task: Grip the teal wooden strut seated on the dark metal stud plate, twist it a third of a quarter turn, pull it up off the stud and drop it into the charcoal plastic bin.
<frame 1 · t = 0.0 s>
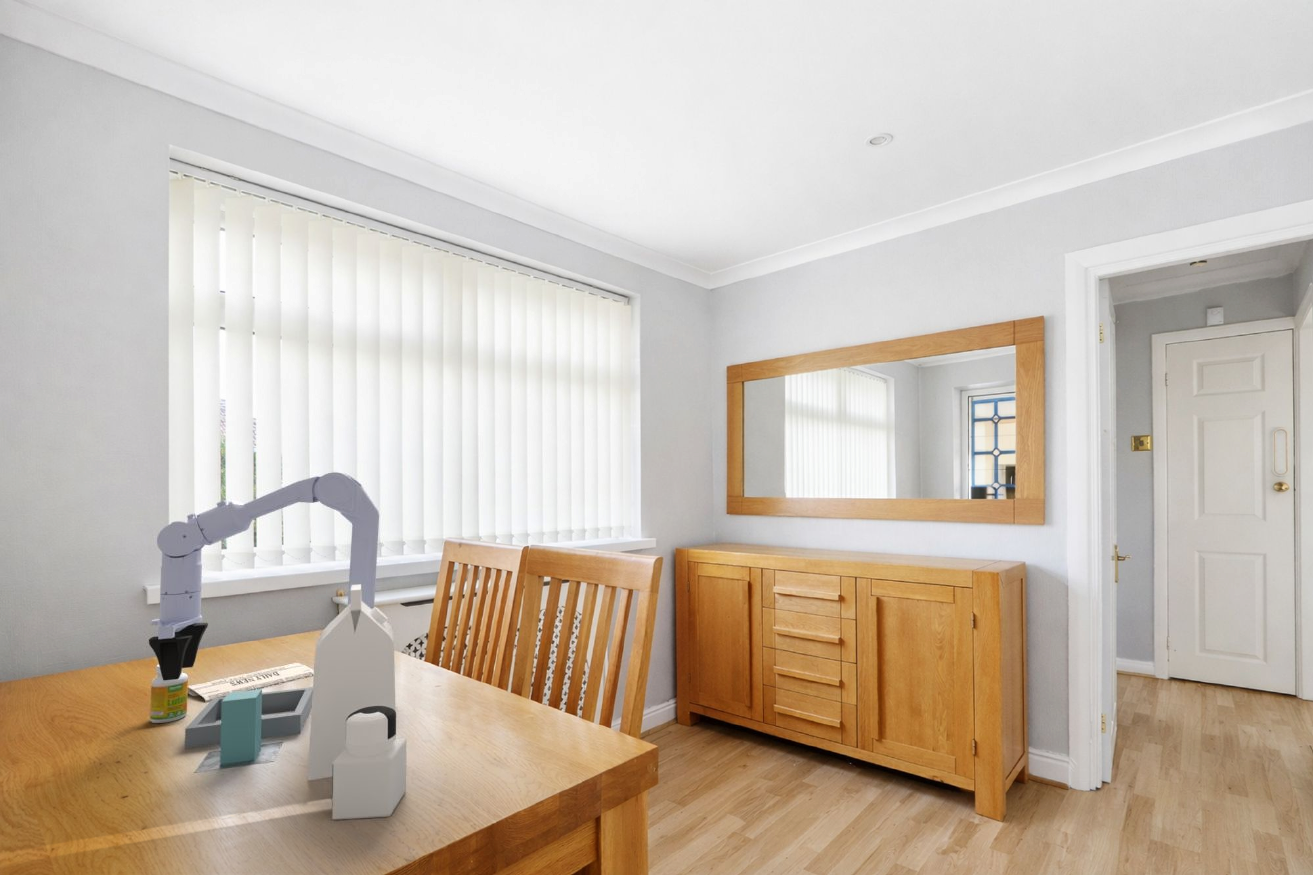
hand: (178, 673, 113), 10 cm above the table, tool pointing down, fingers open, 7 cm apart
strut: (241, 756, 100), point 1 cm above the table, touching stud plate
supplement bottle: (168, 719, 120), on the table
medicine bottle: (370, 807, 86), on the table
bin: (254, 729, 114), on the table
newspaper: (249, 687, 141), on the table
stud plate: (240, 763, 100), on the table
milk: (354, 765, 99), on the table
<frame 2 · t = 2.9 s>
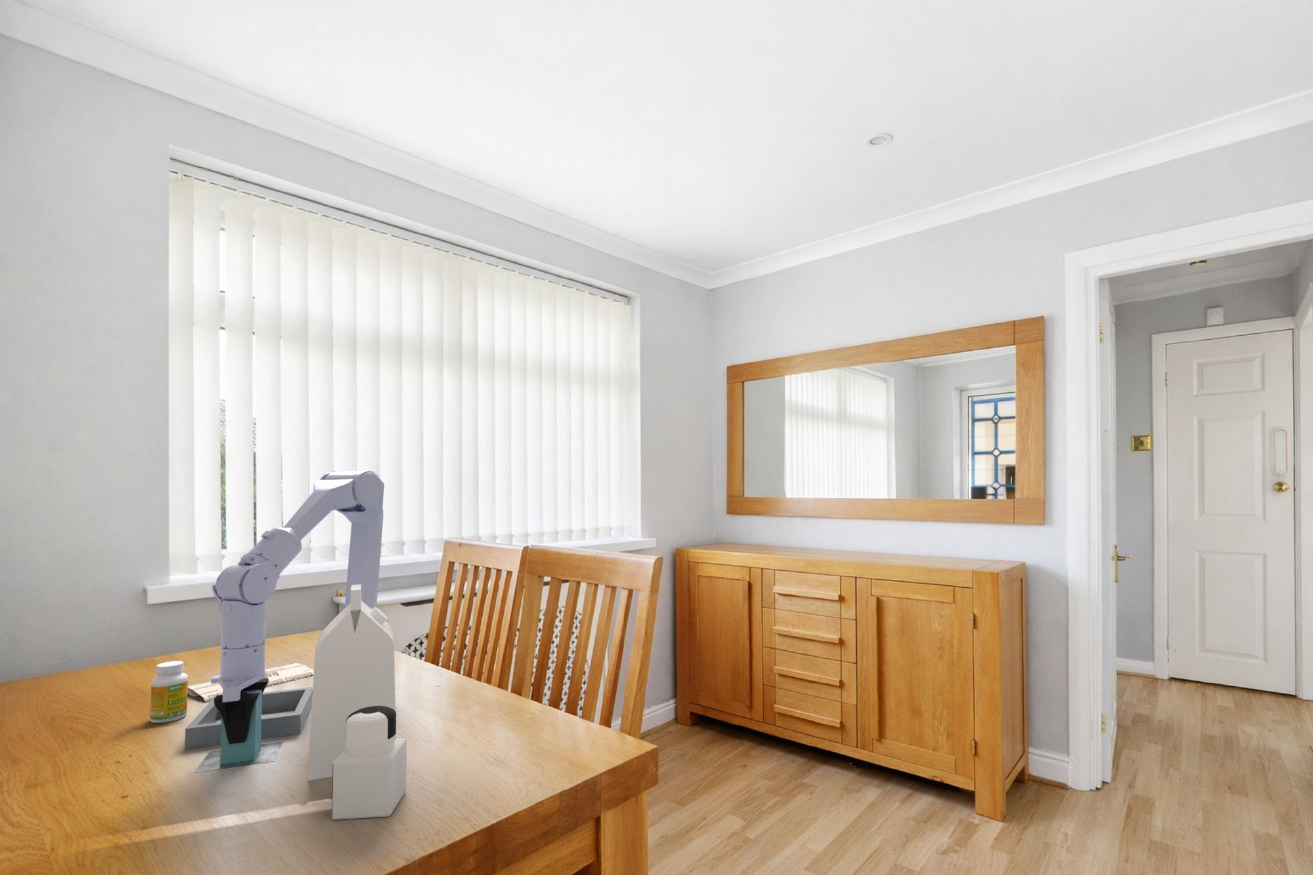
hand: (241, 736, 100), 4 cm above the table, tool pointing down, fingers closed on strut, 4 cm apart
strut: (241, 756, 100), point 1 cm above the table, touching gripper, stud plate
everything else where it was.
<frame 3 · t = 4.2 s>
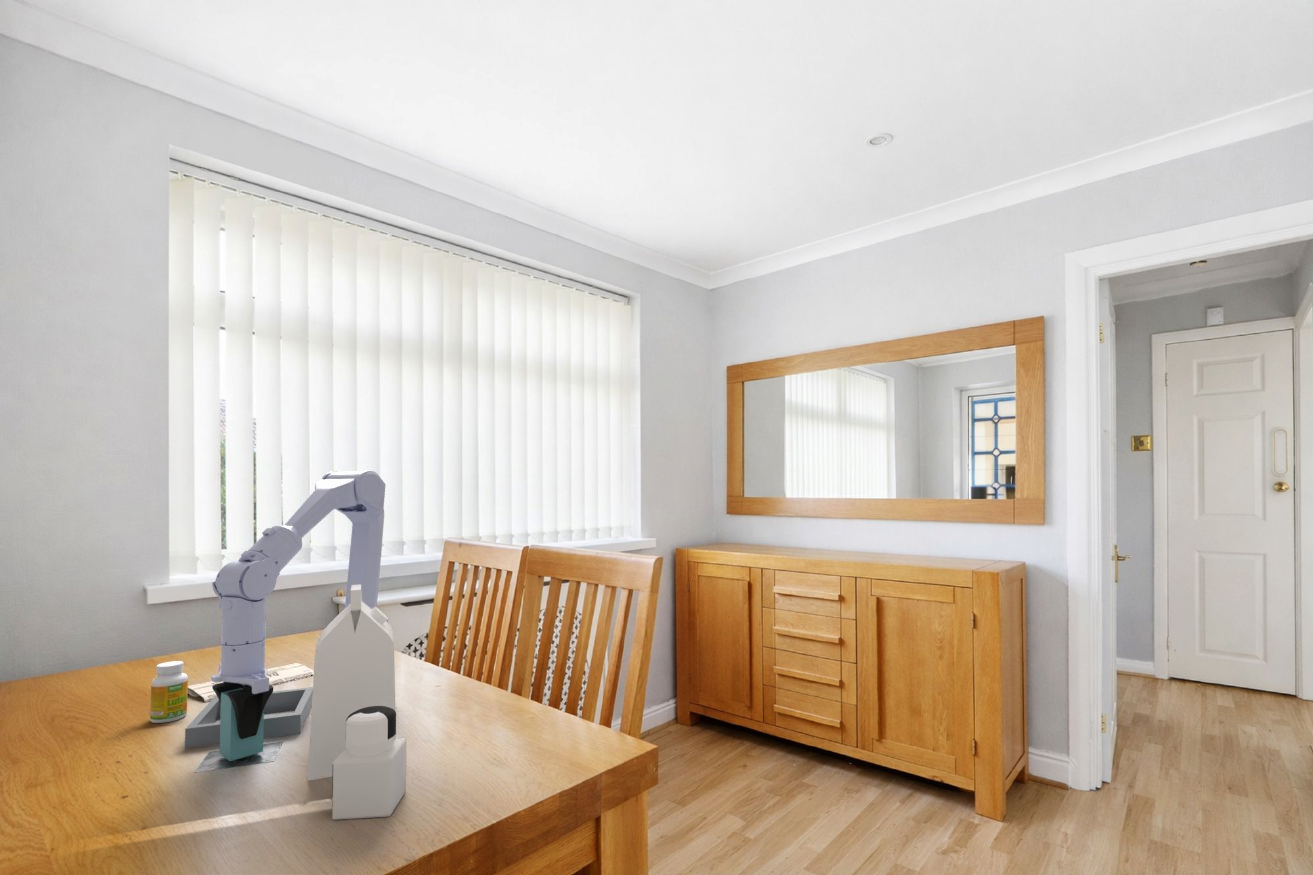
hand: (241, 732, 100), 4 cm above the table, tool pointing down, fingers closed on strut, 4 cm apart
strut: (241, 752, 100), point 2 cm above the table, touching gripper
everything else where it was.
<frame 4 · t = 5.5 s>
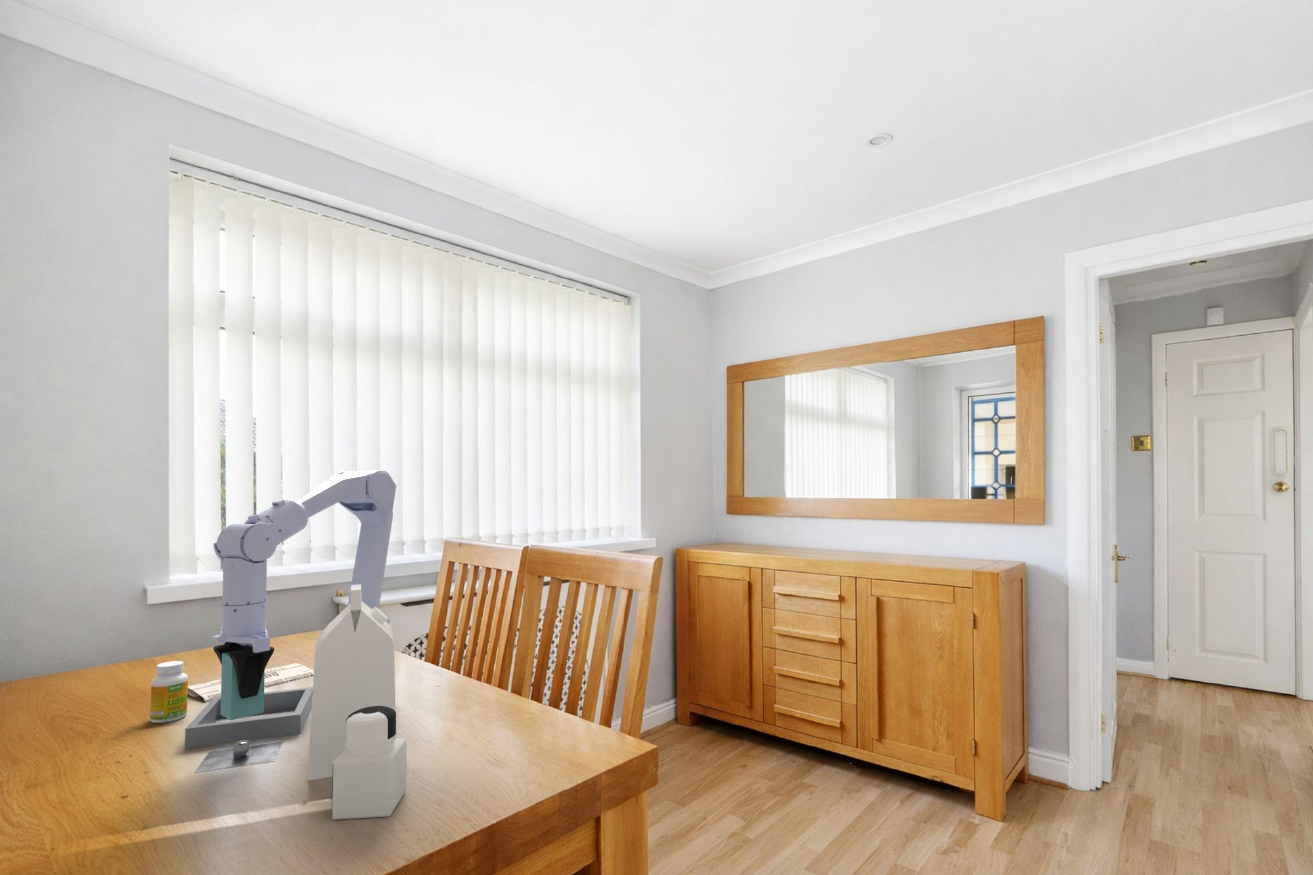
hand: (242, 693, 101), 10 cm above the table, tool pointing down, fingers closed on strut, 4 cm apart
strut: (242, 713, 101), point 7 cm above the table, touching gripper
everything else where it was.
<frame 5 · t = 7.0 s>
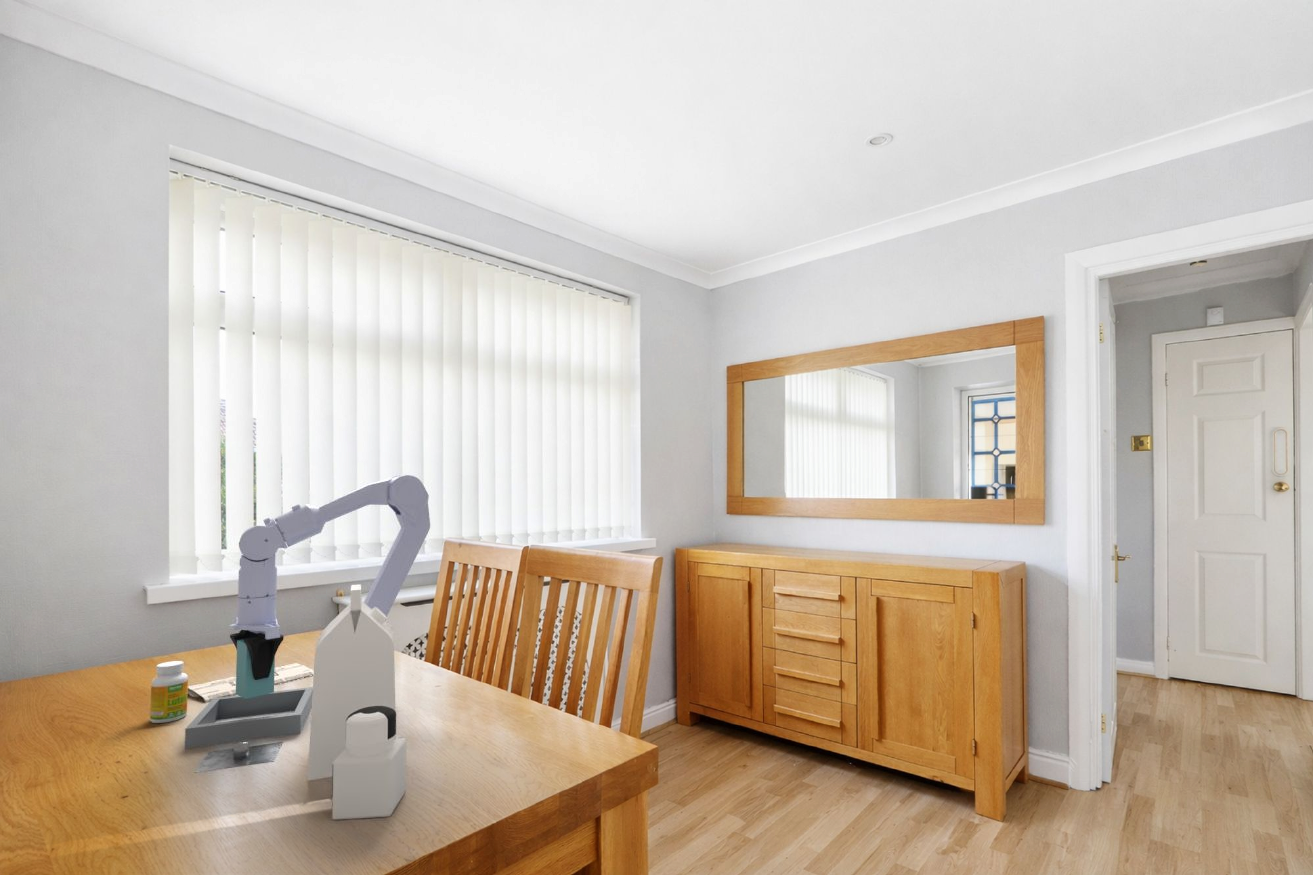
hand: (255, 675, 114), 9 cm above the table, tool pointing down, fingers closed on strut, 4 cm apart
strut: (254, 693, 114), point 6 cm above the table, touching gripper
everything else where it was.
when the fingers open (5 cm above the table, at t = 8.4 s): strut drops 2 cm, resting on bin.
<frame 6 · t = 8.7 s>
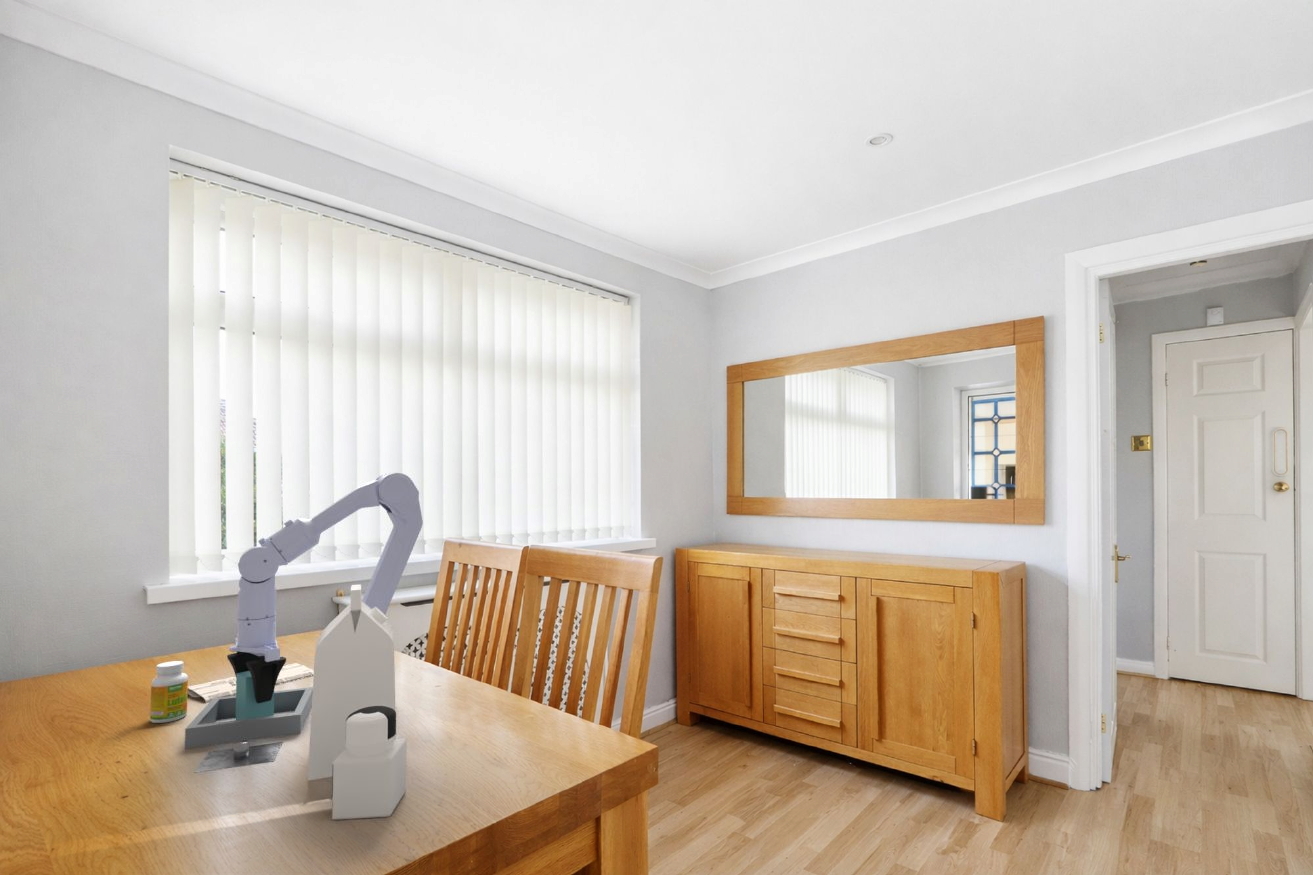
hand: (255, 697, 114), 5 cm above the table, tool pointing down, fingers open, 7 cm apart
strut: (254, 726, 114), point 1 cm above the table, touching bin
everything else where it was.
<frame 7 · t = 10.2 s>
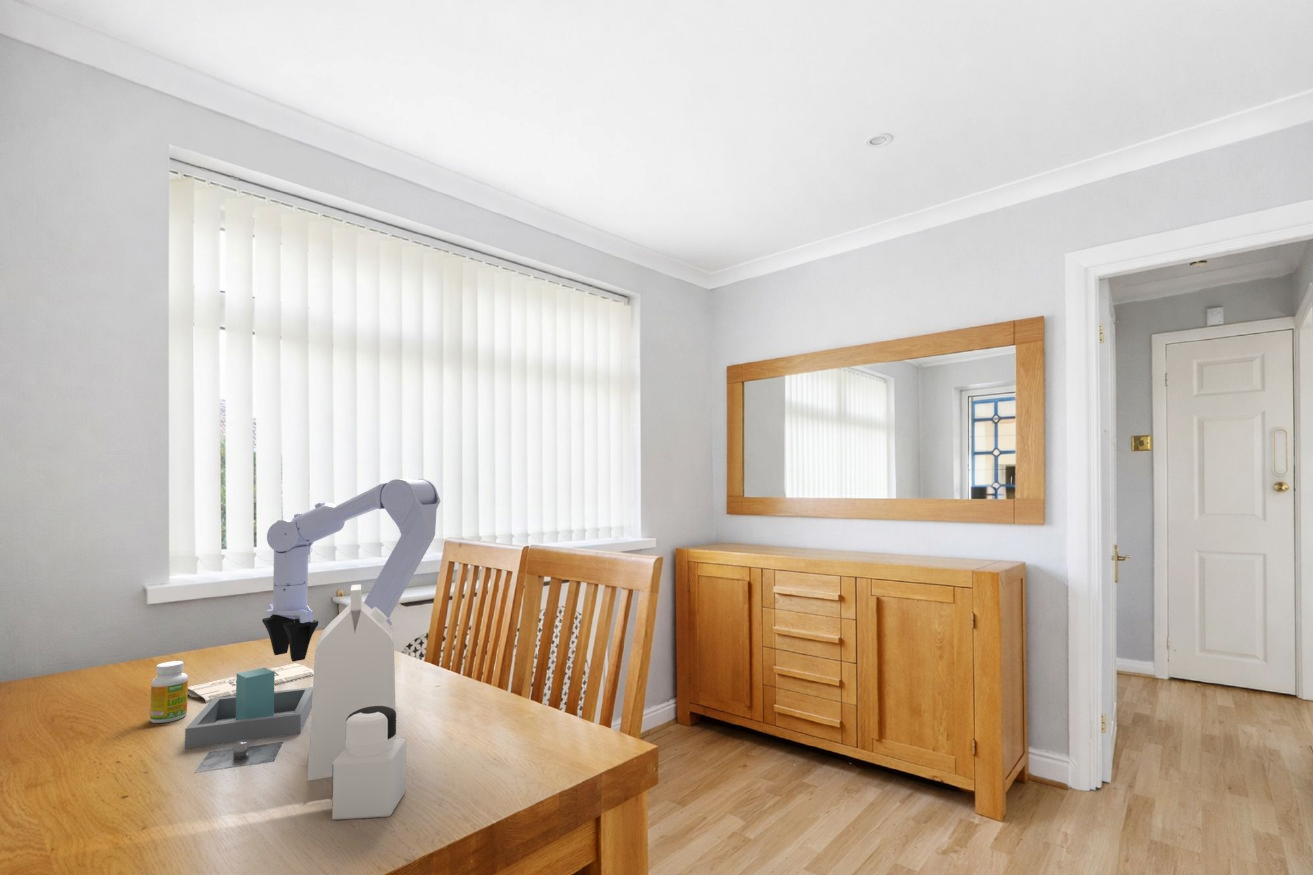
hand: (289, 657, 125), 9 cm above the table, tool pointing down, fingers open, 7 cm apart
nothing on the table moved.
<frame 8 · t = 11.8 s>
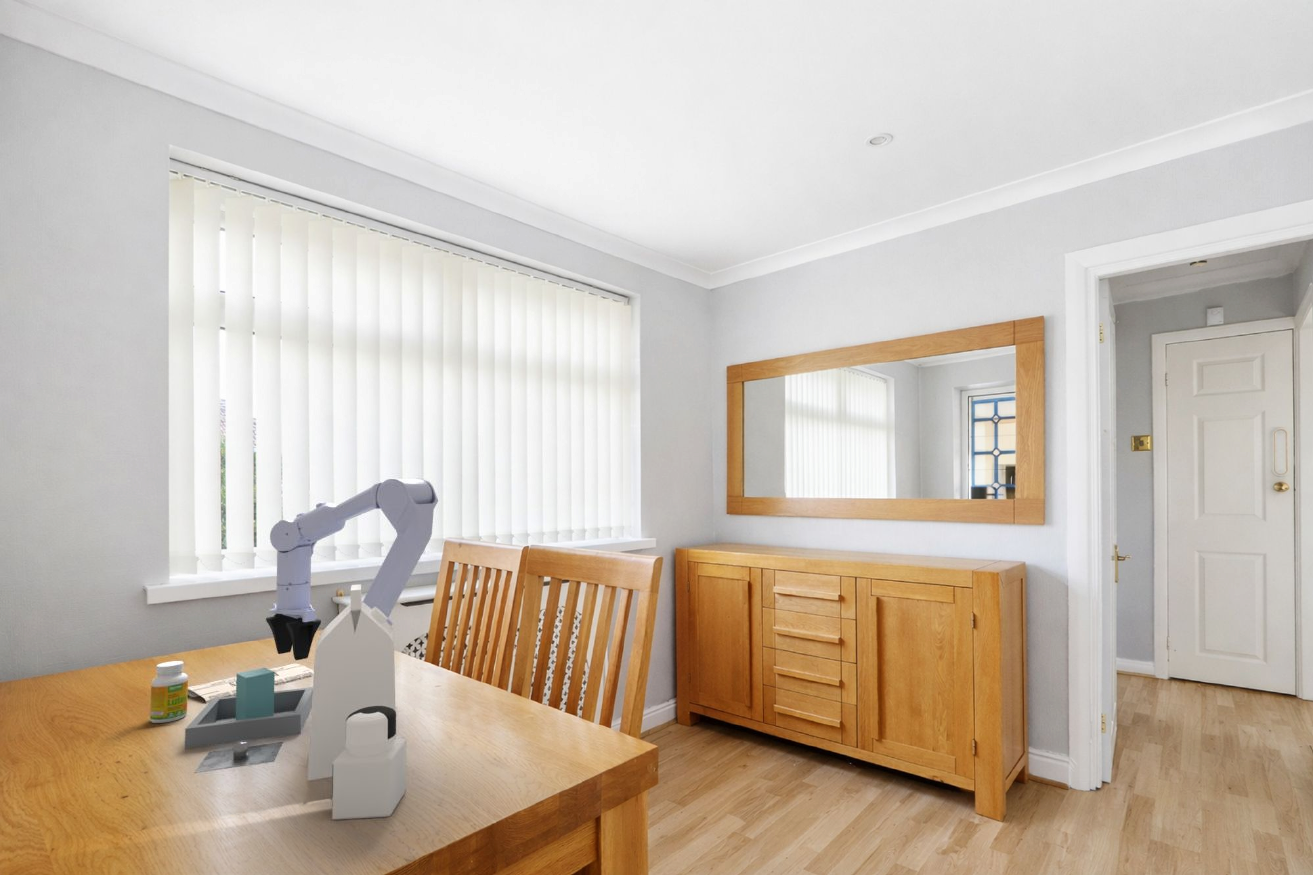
hand: (292, 655, 126), 9 cm above the table, tool pointing down, fingers open, 7 cm apart
nothing on the table moved.
at the end: strut inside the target area on the bin (0.0 cm from its centre), point 0.6 cm above the bin's base; the gripper is holding nothing; strut touching bin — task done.
